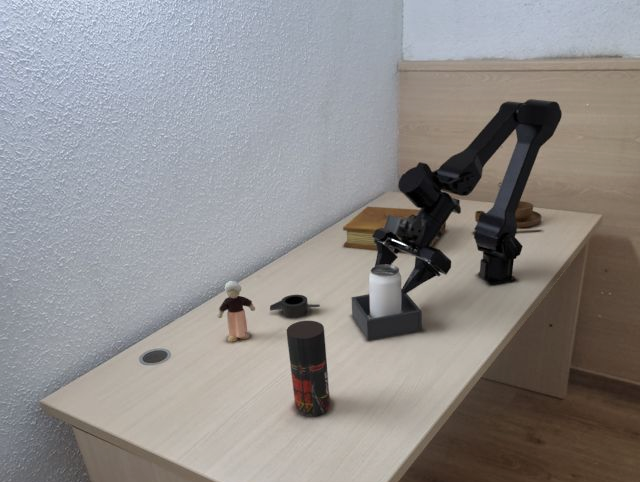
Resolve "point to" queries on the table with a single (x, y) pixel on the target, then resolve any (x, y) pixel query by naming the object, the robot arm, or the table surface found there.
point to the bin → (386, 318)
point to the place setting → (521, 216)
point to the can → (384, 291)
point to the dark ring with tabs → (293, 306)
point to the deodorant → (309, 367)
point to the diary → (374, 225)
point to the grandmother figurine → (235, 311)
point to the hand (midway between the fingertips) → (387, 285)
